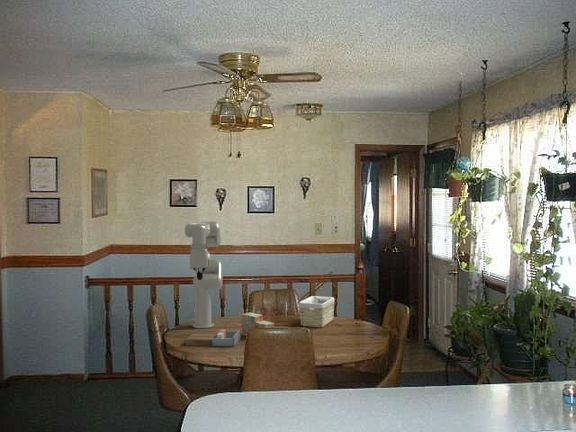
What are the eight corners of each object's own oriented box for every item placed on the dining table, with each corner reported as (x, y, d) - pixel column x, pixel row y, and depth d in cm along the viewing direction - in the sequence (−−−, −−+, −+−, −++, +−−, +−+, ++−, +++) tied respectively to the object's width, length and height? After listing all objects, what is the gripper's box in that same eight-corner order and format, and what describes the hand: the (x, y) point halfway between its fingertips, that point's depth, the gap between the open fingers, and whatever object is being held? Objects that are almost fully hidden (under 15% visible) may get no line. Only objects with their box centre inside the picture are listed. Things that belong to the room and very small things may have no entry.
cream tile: (219, 332, 320) (223, 332, 319) (219, 341, 320) (223, 341, 320) (217, 334, 315) (221, 334, 314) (217, 344, 315) (221, 344, 315)
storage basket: (323, 328, 352) (322, 303, 351) (297, 326, 358) (297, 302, 357) (335, 320, 374) (335, 296, 373) (311, 318, 380) (311, 295, 379)
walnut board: (193, 337, 331) (193, 332, 331) (218, 338, 330) (218, 333, 330) (185, 345, 315) (185, 339, 315) (211, 345, 314) (211, 340, 314)
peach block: (221, 329, 327) (225, 329, 327) (221, 338, 327) (226, 338, 327) (219, 331, 322) (223, 331, 322) (219, 340, 322) (223, 340, 322)
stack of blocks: (274, 339, 326) (274, 317, 325) (265, 341, 322) (265, 319, 321) (250, 333, 342) (249, 311, 341) (241, 335, 338) (241, 313, 337)
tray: (219, 337, 331) (219, 329, 330) (241, 338, 329) (240, 329, 329) (211, 346, 313) (211, 336, 313) (234, 346, 311) (234, 337, 311)
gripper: (184, 247, 330) (184, 280, 331) (210, 247, 328) (211, 280, 329) (188, 246, 338) (188, 278, 338) (213, 246, 336) (214, 278, 337)
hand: (199, 279), depth 334 cm, fingers closed
